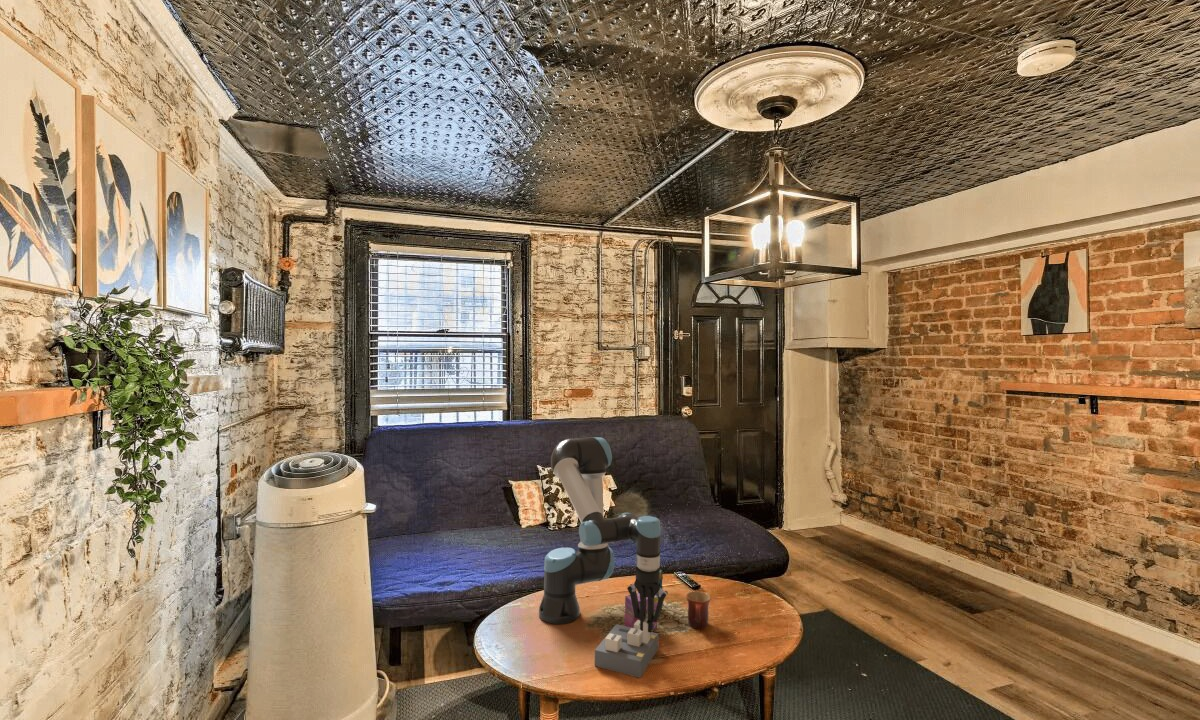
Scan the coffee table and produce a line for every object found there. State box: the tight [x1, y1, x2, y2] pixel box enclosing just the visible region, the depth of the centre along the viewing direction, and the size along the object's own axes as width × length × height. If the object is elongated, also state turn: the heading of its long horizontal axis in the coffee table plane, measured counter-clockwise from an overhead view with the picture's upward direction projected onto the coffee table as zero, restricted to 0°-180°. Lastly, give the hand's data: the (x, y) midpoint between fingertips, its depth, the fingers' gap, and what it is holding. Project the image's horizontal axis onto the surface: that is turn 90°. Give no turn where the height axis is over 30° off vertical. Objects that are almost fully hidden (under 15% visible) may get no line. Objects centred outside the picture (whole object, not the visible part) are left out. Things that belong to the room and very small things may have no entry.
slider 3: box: [627, 628, 643, 647], centre depth 175 cm, size 4×4×4 cm
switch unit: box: [594, 624, 659, 679], centre depth 176 cm, size 15×18×5 cm
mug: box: [685, 590, 712, 630], centre depth 196 cm, size 12×9×10 cm
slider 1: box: [605, 633, 622, 652], centre depth 172 cm, size 4×4×4 cm
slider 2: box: [634, 620, 640, 630], centre depth 181 cm, size 4×4×4 cm
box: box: [624, 592, 658, 631], centre depth 194 cm, size 10×6×12 cm, turn 117°
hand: (646, 641), depth 174 cm, fingers closed
